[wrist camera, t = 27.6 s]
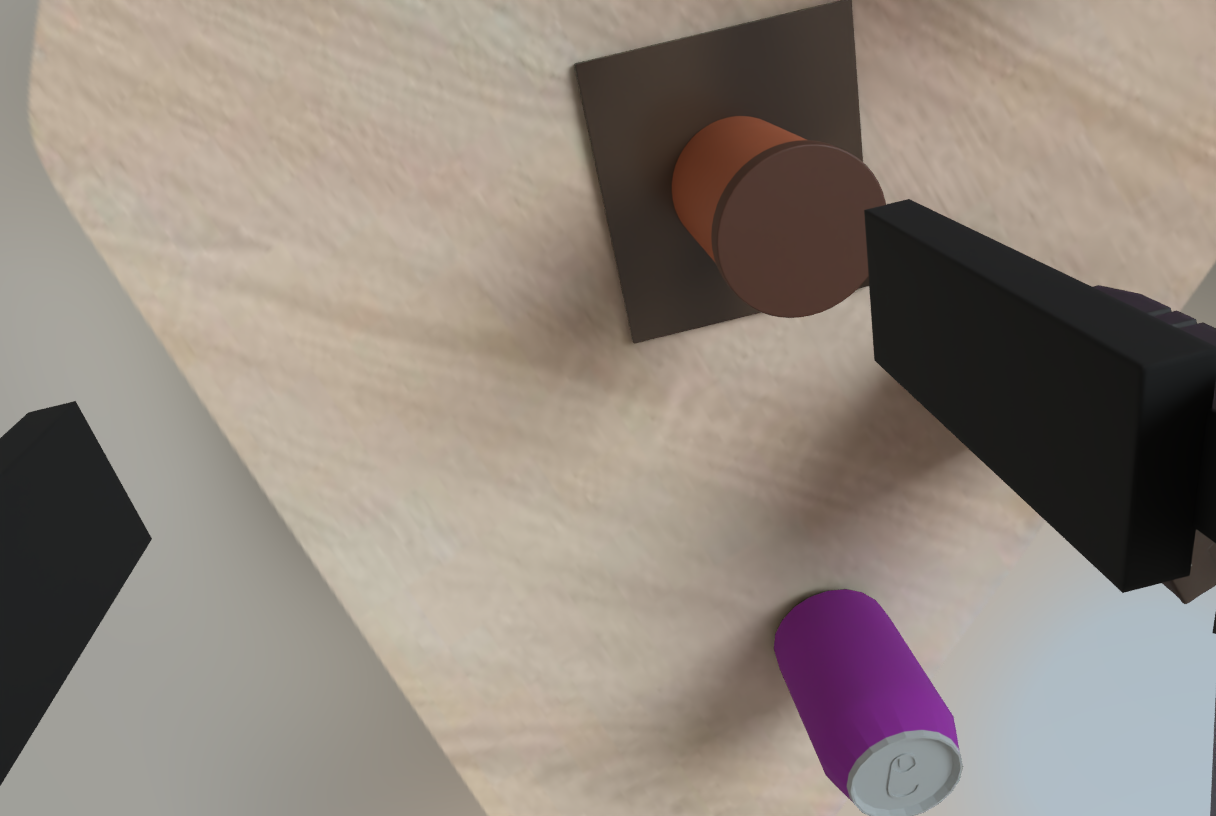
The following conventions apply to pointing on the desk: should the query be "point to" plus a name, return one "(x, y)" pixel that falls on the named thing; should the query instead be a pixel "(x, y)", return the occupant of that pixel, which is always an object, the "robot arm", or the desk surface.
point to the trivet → (675, 112)
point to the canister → (777, 214)
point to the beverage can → (868, 705)
